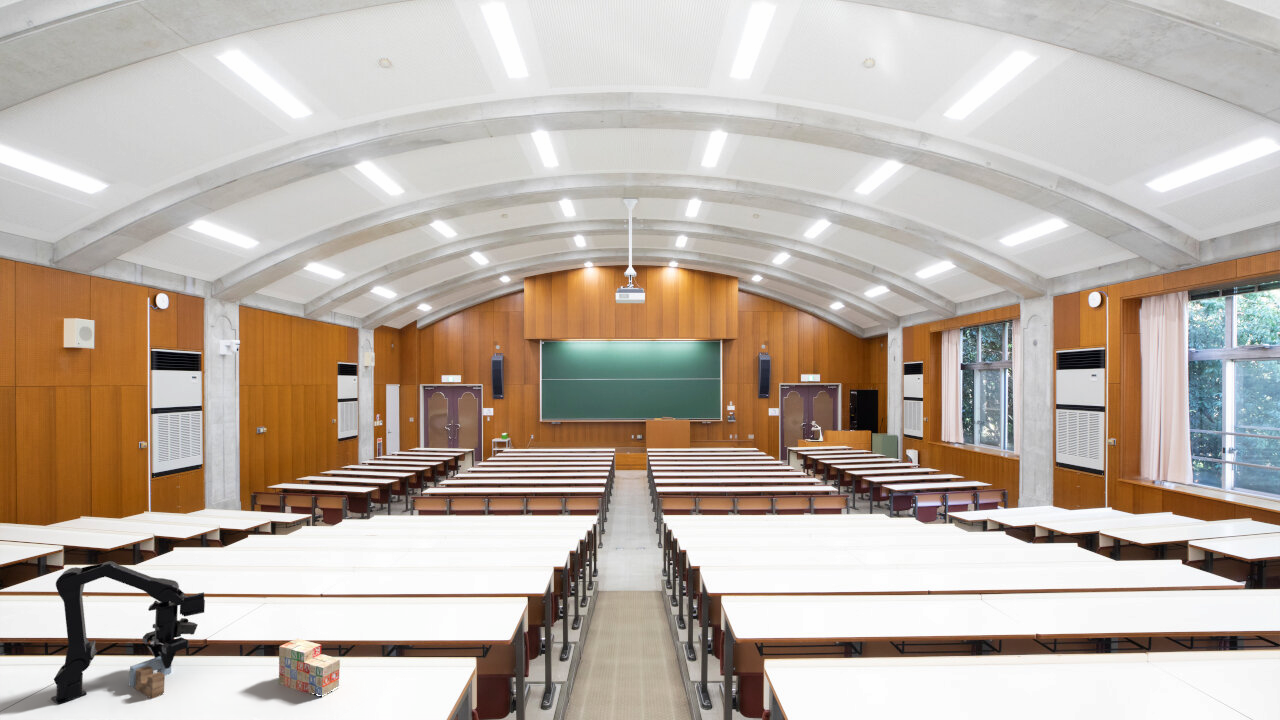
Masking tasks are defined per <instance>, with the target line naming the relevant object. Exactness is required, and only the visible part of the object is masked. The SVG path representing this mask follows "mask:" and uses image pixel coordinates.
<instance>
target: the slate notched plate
mask: <svg viewBox="0 0 1280 720" xmlns="http://www.w3.org/2000/svg"><path fill="white" fill-rule="evenodd" d="M145 666H149V667H151V668H153V672H155V671H156V673H157V672H161V673H163V674H164V675H166V676H168V675H171V674H172V665H171V666H170V668H167V669H166V668H165V666H164V664H163V662H162V659H161V657H160V656H159V657H156V658H155V657H154V658H150V659H149V660H148V659H147V660H145V661H141V662H140V663H136V664H134V665H131V666H129V681H128V683H129V686H130V687H131V686H132V687H131V688H134V689H135V685H136V670H137V669H140V668H143V667H145ZM170 673H171V674H170ZM167 674H168V675H167Z"/></svg>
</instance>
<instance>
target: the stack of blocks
mask: <svg viewBox="0 0 1280 720" xmlns="http://www.w3.org/2000/svg"><path fill="white" fill-rule="evenodd" d="M278 648H279V649H278V651H279V652H278V653H279V654H278V655H279V656H278V684H280V685H283V686H285V687H288V688H291V689H294V690H298V691H300V692H304V693H307V692H309V693H308V694H310V693H314V694H318V695H321V696H322V695H324V694H326V693H328V692H330V691H331V690H333V689H334V688H336V687H338V686H339V687H340V667H341V658H337V657H333V656H330V655H326V654H322V644H320V643H315V642H312V641H308V640H304V639H302V638H301V639H300V638H295V639H292V640H291V641H288V642H287V643H284V644H281V645H279V647H278Z"/></svg>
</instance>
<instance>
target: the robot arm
mask: <svg viewBox="0 0 1280 720" xmlns="http://www.w3.org/2000/svg"><path fill="white" fill-rule="evenodd" d="M102 578H108V579H111V580H114V581H116V582H119V583H122V584H123V585H127V586H130V587H132V588H136V589H139V590H141V591H143V592H144V593H146V594H147V595H149V596H150V598H153V599H155V600H154V601H153V603H151V604H150V606H149V607H148V611H149V612H150V611H155V622H154V623H153V624H152V628H153V629H154V630H152V631H149V632H146V633H145V634H144V635H143V637H142V643H143V644H145V645H147V648H148V649H149V651H150V652H151V654H152V656H153V657H154V658H156V657H159V656H160V657H161V659H162V662H163V664H164V666H165V668H166V669H167V668H170V666H171V667H172V663H173V661H174V658H175V656H176V653H177V652H178V651H181V650H184V649H188V648H189V646H190V645H189V643H190V641H189V640H188V639H187V638H184V637H181V636H182V635H195V633H196V630H197V627H198V624H197V623H196V622H192V621H189V619H188V618H186V617H188V616H194V615H199V614H204V613H205V608H206V600H205V592H199V593H195V594H191V595H186V594H185V593H184V591H183V590H181V589H180V584H179V583H178V582H177V580H173V579H167V578H164V577H161V578H160V577H153V576H149V575H147V574H145V573H142V572H139V571H136V570H134V569H131V568H128V567H125V566H124V565H120V564H117V563H116V562H115V561H105V562H103V563H98V564H92V565H87V566H84V567H71V568H68V569H66V570H65V571H63V573H61V575H59V577H58V578H57V580H56V582H55V588H56V590H57V592H58V595H59V597H60V598H61V600H62V602H63V605H64V606H63V608H64V614H65V625H66V634H67V643H68V644H67V650H66V654H65V660H64V664H63V665H62V666H60V668H59V670H58V671H57V672H56V674H55V677H54V678H53V680H54V683H55V685H56V689H55V690H56V692H55V693H56V694H55V695H54V696H51V697H50V699H51V701H53V702H54V703H56V704H57V705H60V704H64V703H67V702H69V701H72V700H75V699H77V698H80V697H83V696H86V695H88V694H87V691H86V690H84V688H83V679H84V678H83V676H84V672H85V671H86V670H87V669H88V668H89V666H90V665H91V663H92V661H93V660H94V658H95V656H96V655H97V652H98V650H97V649H96V640H92V641H89V639H88V638H87V637H88V636H87V630H86V621H85V620H86V619H85V610H84V600H83V593H84V589H85V588H84V587H85V584H88V583H91V582H94V581H97V580H99V579H102ZM178 607H179V609H178ZM178 610H179V615H181V616H183V617H184V618H183V617H182V618H180V619H179V620H178Z"/></svg>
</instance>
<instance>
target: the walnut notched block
mask: <svg viewBox="0 0 1280 720" xmlns="http://www.w3.org/2000/svg"><path fill="white" fill-rule="evenodd" d="M165 677H166V676H165V675H164V674H163V673H161V672H157V671H156V672H154V671H153V668H151V667H149V666H145V667H143V668H140V669H137V670H136V685H135V687H134V689H135V690H136V691H137V692H140V693H141V694H143V695H145V696H147V697H148V696H149V697H148V698H150V699H155V698H158V697H160V696H162V695H161V694H163V693H164V694H165V679H166V678H165ZM164 694H163V695H164ZM159 695H160V696H159ZM157 696H158V697H157Z"/></svg>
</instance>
